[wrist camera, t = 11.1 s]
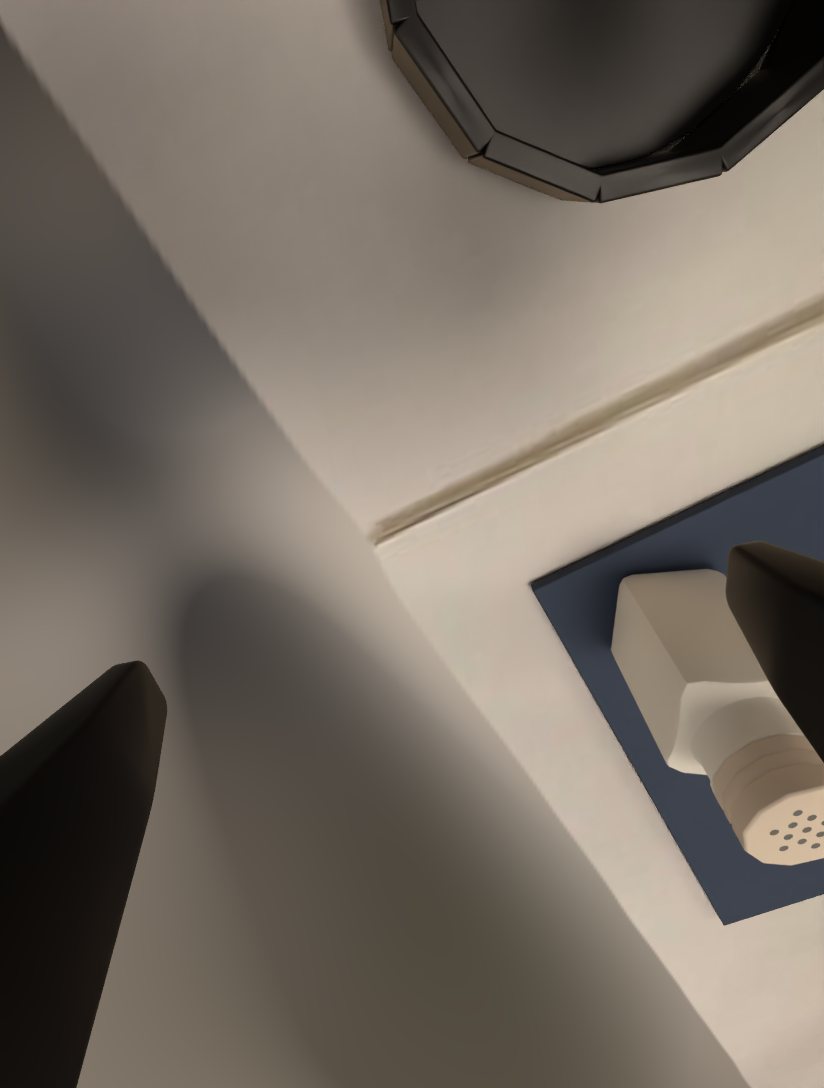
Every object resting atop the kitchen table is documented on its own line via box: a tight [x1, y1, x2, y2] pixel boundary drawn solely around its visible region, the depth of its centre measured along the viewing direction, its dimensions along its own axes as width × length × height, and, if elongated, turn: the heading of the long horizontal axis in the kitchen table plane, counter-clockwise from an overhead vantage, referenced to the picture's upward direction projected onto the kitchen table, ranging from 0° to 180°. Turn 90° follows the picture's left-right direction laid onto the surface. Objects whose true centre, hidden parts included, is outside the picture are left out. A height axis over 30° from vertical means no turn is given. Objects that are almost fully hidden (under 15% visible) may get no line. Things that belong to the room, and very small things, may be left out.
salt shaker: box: [611, 569, 824, 865], centre depth 20 cm, size 4×4×10 cm
